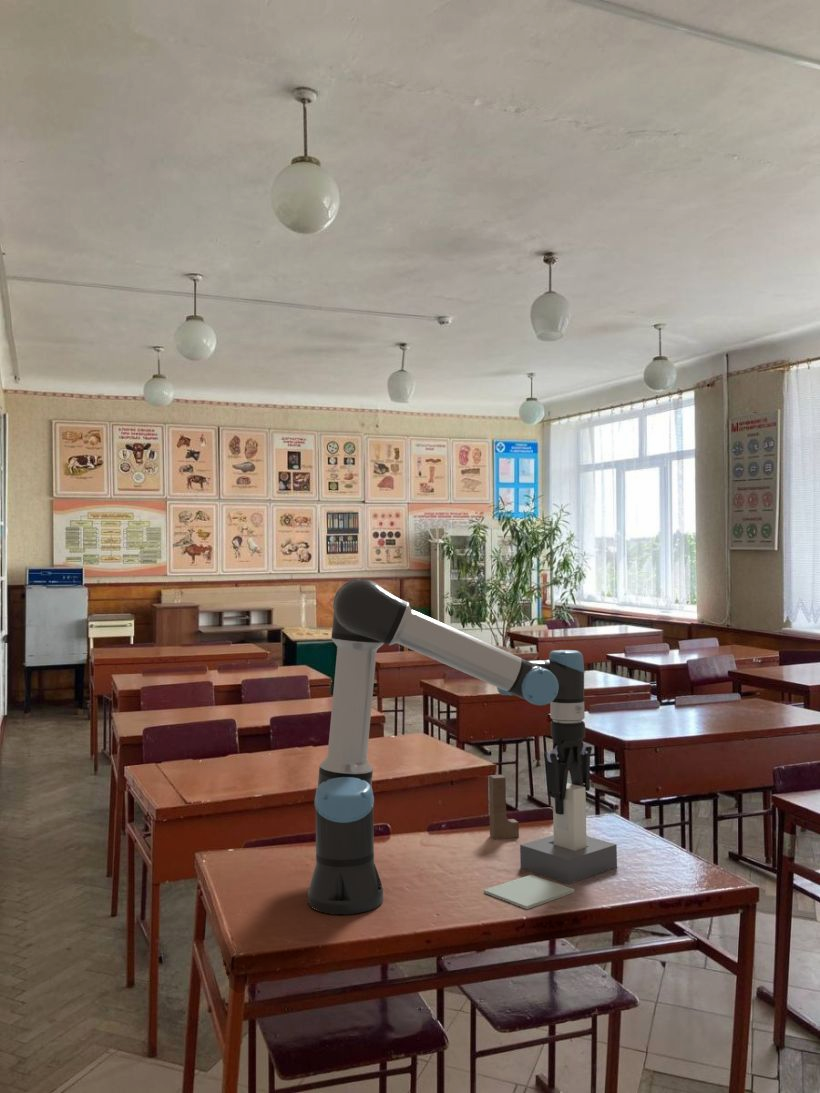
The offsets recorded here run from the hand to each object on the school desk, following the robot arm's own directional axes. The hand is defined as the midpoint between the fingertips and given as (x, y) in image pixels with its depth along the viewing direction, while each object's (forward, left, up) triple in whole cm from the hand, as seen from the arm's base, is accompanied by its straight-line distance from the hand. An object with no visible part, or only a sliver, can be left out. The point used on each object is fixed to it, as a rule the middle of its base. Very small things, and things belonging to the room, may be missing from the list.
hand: (569, 826), depth 199 cm
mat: (-18, -4, -9) cm, 21 cm away
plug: (0, 0, -7) cm, 7 cm away
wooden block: (+6, +27, -9) cm, 29 cm away
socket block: (0, +1, -9) cm, 9 cm away
